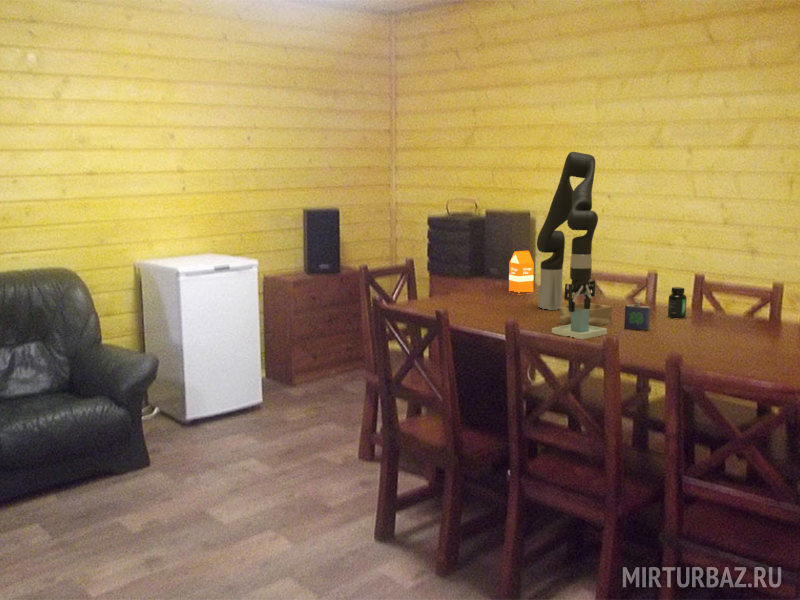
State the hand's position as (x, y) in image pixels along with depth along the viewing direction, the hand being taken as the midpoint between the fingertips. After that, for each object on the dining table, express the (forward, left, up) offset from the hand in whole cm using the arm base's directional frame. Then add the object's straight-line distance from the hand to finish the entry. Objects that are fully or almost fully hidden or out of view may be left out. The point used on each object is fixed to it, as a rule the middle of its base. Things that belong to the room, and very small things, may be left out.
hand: (579, 310), depth 297 cm
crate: (-11, +17, -9) cm, 22 cm away
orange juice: (-79, +53, -9) cm, 95 cm away
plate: (0, 0, -9) cm, 9 cm away
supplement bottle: (+5, +54, -9) cm, 55 cm away
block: (0, 0, -8) cm, 8 cm away
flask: (+9, +22, -9) cm, 25 cm away
